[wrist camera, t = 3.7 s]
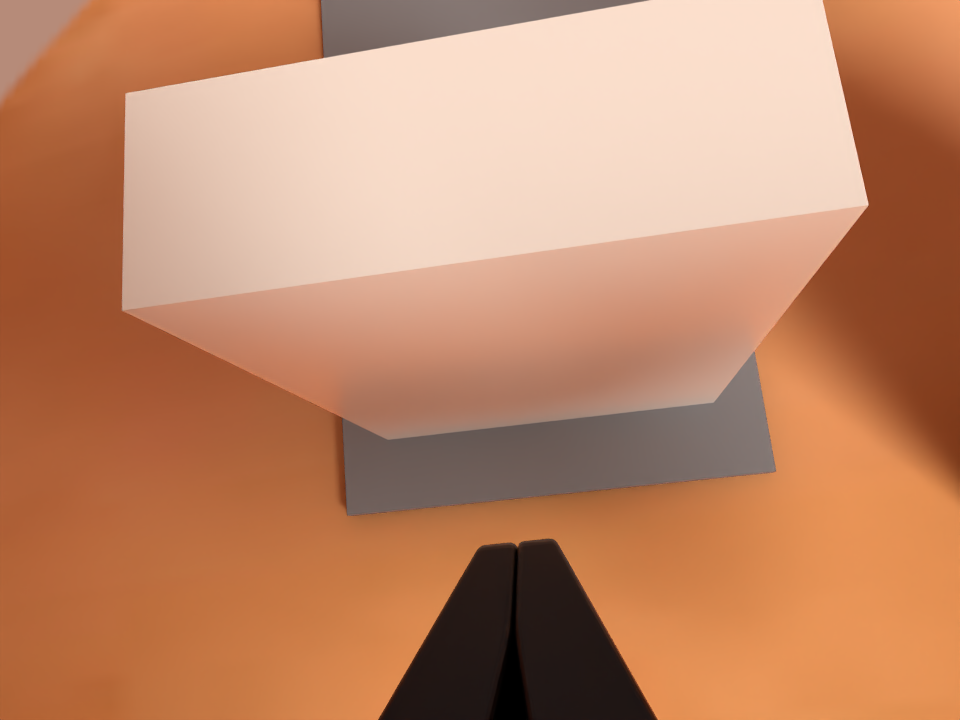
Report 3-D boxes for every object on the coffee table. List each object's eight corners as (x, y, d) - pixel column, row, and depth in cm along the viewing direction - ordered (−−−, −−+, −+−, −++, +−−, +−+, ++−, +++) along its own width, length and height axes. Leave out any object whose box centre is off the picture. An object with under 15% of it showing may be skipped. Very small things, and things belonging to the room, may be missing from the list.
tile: (713, 402, 17) (868, 204, 7) (387, 439, 17) (121, 309, 8) (695, 289, 17) (814, -39, 8) (380, 330, 18) (125, 83, 8)
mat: (772, 472, 16) (776, 471, 16) (351, 515, 17) (347, 515, 17) (671, -93, 20) (672, -103, 19) (323, -26, 21) (319, -35, 21)
